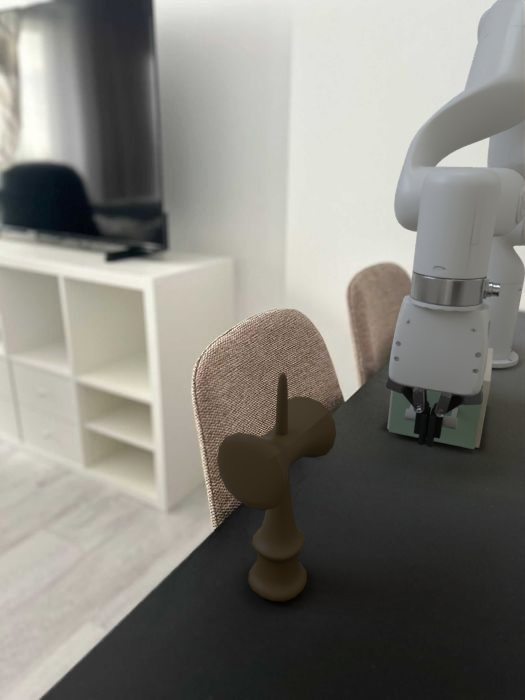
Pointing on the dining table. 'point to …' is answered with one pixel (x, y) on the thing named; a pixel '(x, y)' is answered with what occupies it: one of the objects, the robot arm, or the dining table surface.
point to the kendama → (276, 487)
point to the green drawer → (455, 425)
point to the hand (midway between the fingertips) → (426, 440)
